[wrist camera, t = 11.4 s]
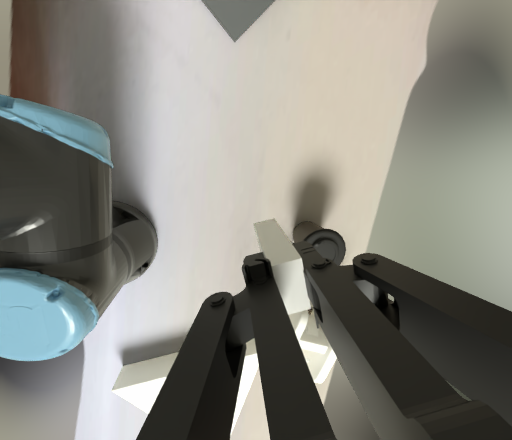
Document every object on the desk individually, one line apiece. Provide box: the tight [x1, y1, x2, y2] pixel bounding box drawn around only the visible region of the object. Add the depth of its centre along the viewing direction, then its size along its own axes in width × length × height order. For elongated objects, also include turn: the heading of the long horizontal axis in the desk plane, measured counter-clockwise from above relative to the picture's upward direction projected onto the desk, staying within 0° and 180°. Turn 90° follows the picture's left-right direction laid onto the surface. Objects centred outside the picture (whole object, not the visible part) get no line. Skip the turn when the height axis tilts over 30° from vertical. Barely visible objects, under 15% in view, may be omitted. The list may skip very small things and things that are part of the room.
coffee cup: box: [293, 222, 346, 266], centre depth 45 cm, size 8×8×10 cm
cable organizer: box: [289, 301, 337, 383], centre depth 49 cm, size 15×11×12 cm
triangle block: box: [112, 339, 259, 436], centre depth 56 cm, size 30×26×6 cm
